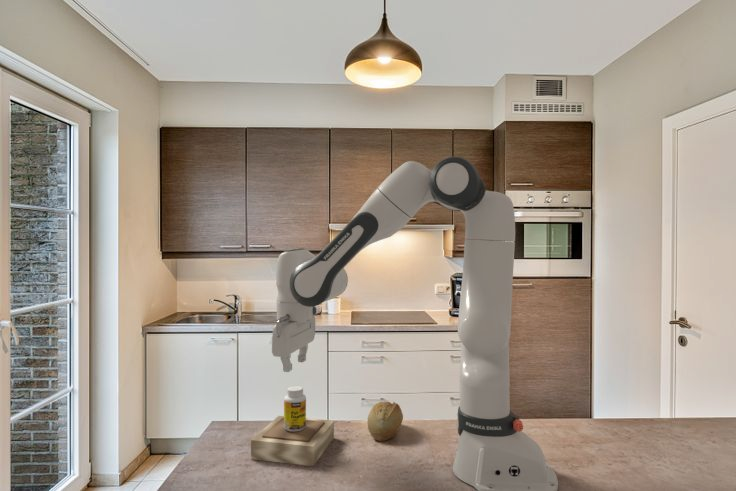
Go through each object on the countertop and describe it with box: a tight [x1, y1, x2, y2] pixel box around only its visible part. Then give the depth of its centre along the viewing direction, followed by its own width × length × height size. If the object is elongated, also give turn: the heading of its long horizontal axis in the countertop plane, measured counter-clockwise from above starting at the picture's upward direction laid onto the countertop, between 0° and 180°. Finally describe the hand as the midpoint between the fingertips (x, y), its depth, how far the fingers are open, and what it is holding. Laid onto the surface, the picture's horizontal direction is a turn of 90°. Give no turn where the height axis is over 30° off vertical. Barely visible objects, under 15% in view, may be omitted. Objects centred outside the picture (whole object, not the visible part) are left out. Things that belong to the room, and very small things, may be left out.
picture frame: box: [250, 415, 335, 467], centre depth 115 cm, size 16×16×5 cm
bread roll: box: [367, 401, 404, 442], centre depth 125 cm, size 10×15×8 cm, turn 171°
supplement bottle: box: [283, 385, 307, 432], centre depth 115 cm, size 6×6×10 cm
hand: (295, 366), depth 115 cm, fingers open, 8 cm apart
